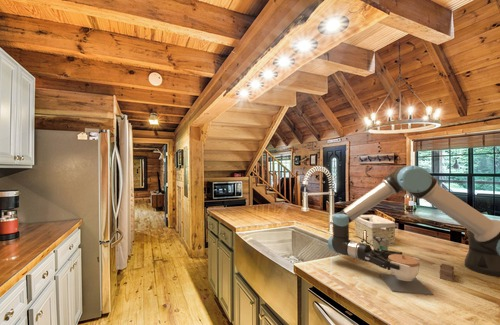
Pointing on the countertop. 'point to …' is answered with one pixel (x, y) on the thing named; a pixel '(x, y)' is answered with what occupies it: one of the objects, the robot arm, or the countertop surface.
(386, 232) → the storage basket
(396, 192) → the robot arm
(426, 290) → the slate mat
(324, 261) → the countertop surface
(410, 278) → the lidded jar
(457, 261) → the countertop surface
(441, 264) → the walnut block
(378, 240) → the food container
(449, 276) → the walnut block
